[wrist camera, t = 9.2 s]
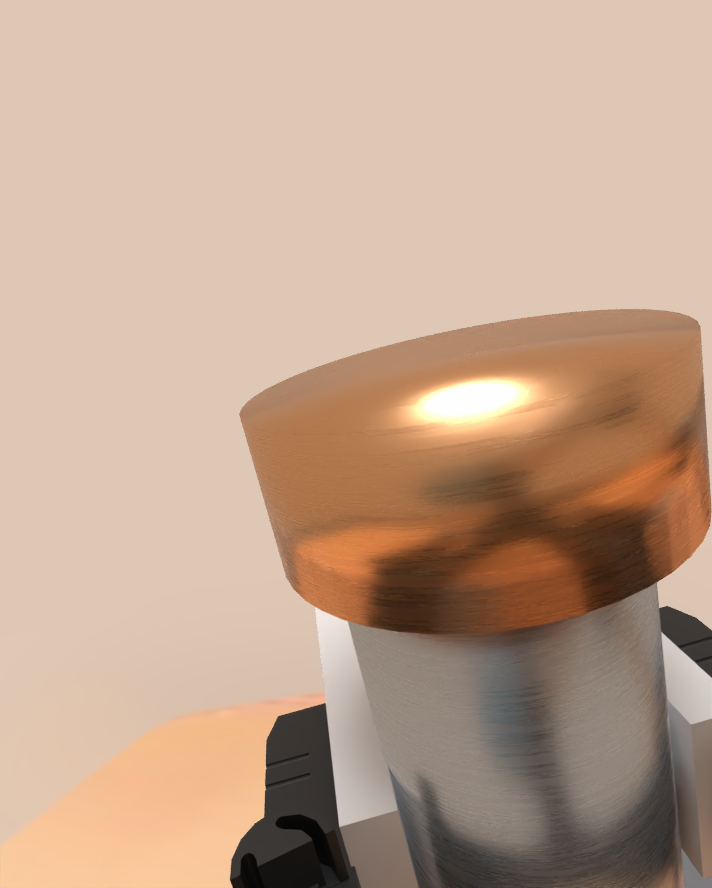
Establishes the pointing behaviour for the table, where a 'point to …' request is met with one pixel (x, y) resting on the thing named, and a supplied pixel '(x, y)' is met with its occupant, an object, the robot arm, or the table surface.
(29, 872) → the table surface
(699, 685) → the robot arm
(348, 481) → the plug
